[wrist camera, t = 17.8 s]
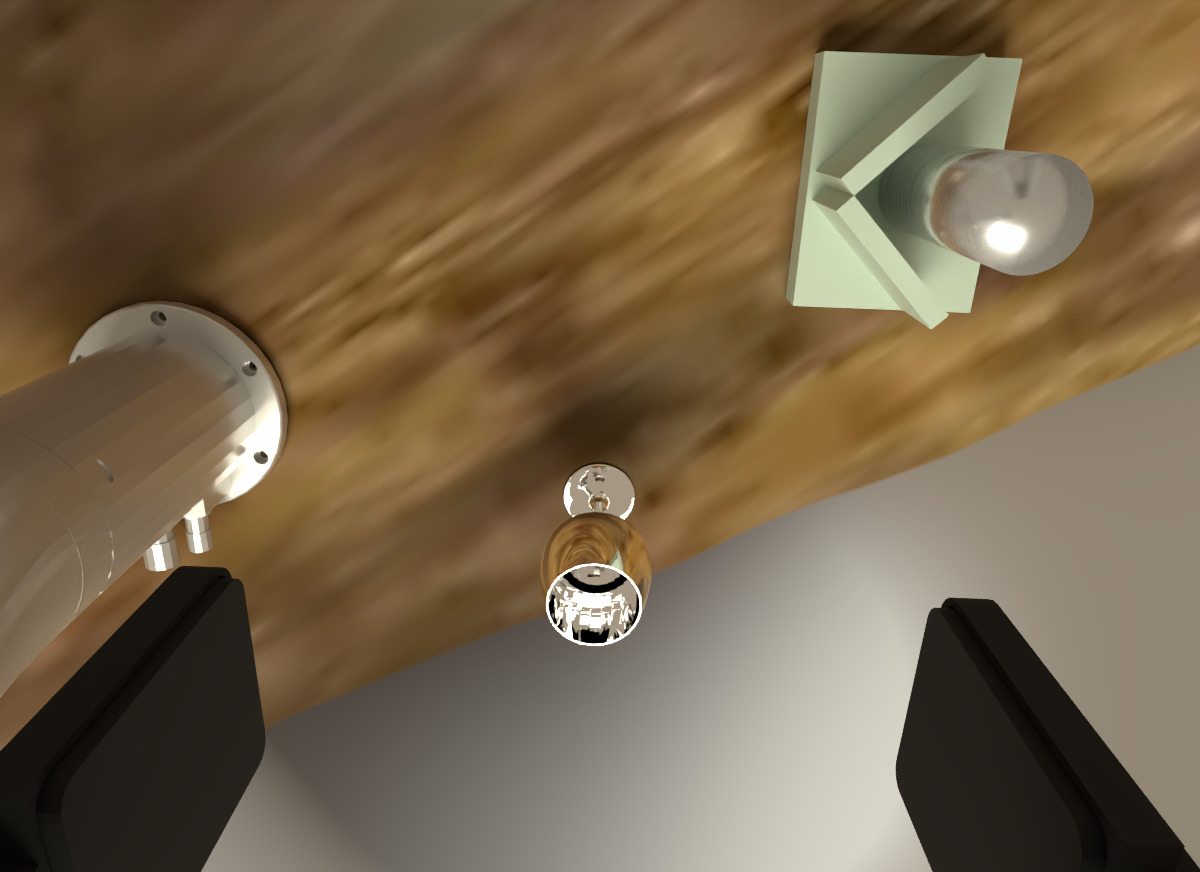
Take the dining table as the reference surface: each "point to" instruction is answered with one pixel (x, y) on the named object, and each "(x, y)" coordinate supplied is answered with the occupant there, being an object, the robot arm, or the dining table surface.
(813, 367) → the dining table surface
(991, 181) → the steel axle
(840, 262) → the v-block
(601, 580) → the wineglass
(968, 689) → the robot arm
